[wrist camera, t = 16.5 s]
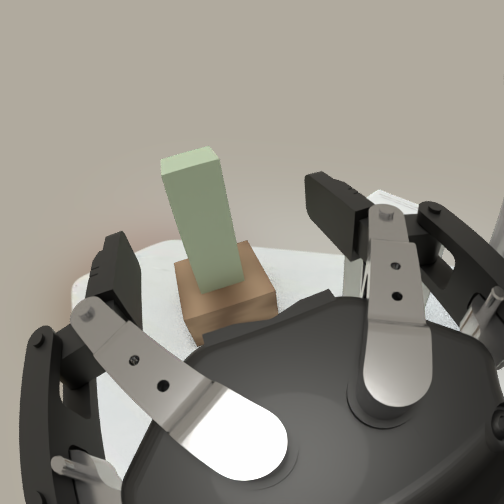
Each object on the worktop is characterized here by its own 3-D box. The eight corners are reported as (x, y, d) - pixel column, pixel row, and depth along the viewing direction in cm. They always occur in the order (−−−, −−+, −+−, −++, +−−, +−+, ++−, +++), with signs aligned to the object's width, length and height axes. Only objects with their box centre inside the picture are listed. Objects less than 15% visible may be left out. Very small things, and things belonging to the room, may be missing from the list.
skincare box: (416, 327, 27) (458, 218, 18) (389, 361, 25) (435, 251, 16) (364, 292, 33) (380, 184, 24) (334, 320, 31) (344, 206, 22)
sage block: (233, 254, 35) (209, 145, 26) (244, 280, 31) (219, 158, 22) (194, 267, 34) (160, 159, 25) (201, 294, 30) (161, 175, 21)
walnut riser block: (252, 268, 40) (247, 240, 37) (278, 319, 32) (275, 290, 29) (185, 289, 38) (174, 262, 35) (197, 346, 30) (183, 320, 27)
